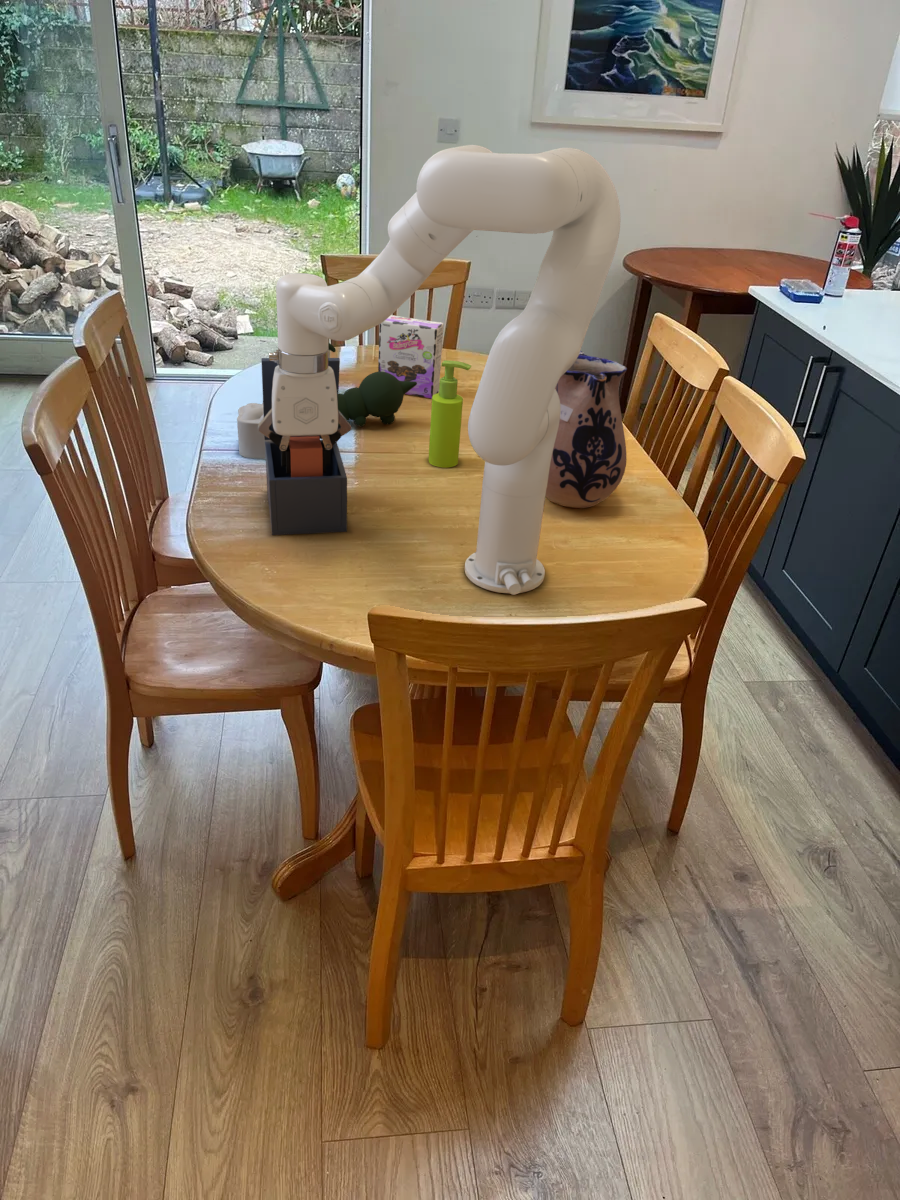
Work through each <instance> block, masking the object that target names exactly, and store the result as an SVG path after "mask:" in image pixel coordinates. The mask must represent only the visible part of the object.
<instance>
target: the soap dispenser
mask: <svg viewBox="0 0 900 1200" xmlns="http://www.w3.org/2000/svg"><path fill="white" fill-rule="evenodd" d="M441 367H442V368H443V367H444V376H442V377H440V382H439V393H437V394H434V395H433V396H432V399H431V408H430V409H431V411H430V426H429V427H430V428H429V445H428V459H427V460H428V463H429V464H430V465H432V466H433V467H437V468H445V469H447V468H454V467H455V466H457V465H458V464H459V455H460V442H461V430H462V417H463V405H464V404H463V403H464V397H463V396H461V395H459V394H458V384H459V383H458V382H459V381H458V379H457V378H456V377H454V375H455V368H457V369H462V370H465V371H469V370H470V369H471V368H472V364H469V363H466V362H464V361H458V360H445V359H444V360H443V361H441Z"/></svg>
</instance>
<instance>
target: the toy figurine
mask: <svg viewBox="0 0 900 1200" xmlns="http://www.w3.org/2000/svg"><path fill="white" fill-rule="evenodd" d="M328 350H330V352H332V353H336V351H337V350H336V348H335V346H334V345H333V344H332V343H331V342H330V343H329V342H328ZM416 385H417V382H412V381H399V380H398V379H397V378H396V377H395V376H393V375H392V374H390V373H387V372H382V371H379V372H378V371H375V372H372V373H369V374H368V375H366V376H365V377H364V378H363V379H362V381H361V382H360V384H359V386H358V387H357V386H356V387H351V388H349V389H347V390H346V391H345V392H343V393H338V410H339V411H340V412H341V413H342V415H343V416H344V417H345V418H346V419H347V420H348V421H349V420H350V421H351V420H352V421H353V423H354V424H355V425H356V427H364V426H365V425H366V424H367V418H368V417H369V416H371V417H374V418H379V419H380V422H381V423H382V424H384V425H388V426H389V425H392V424H393V423H394V422H395V419H396V416H395V414H397V413H398V411H399V410H400V408H401V406H402V403H403V401H404V396H405V395H406V394H405V393H407V392H408V391H409V390H410V389H412V388H413V387H414V386H416ZM339 426H340V424H339V423H338V427H339Z"/></svg>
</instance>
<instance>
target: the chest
mask: <svg viewBox="0 0 900 1200" xmlns="http://www.w3.org/2000/svg"><path fill="white" fill-rule="evenodd" d="M320 441H321V442H322V441H323V440H322V439H320ZM265 457H266V459H265V473H266V475H265V477H266V494H267V502H268V503H267V505H268V511H269V513H268V514H269V521H270V529H271V536H282V535H283V536H285V535H304V534H306V535H307V534H325V533H328V534H329V533H347V532H348V476H347V472H346V469H345V466H344V463H343V458H342V456H341V451H340V449H339V444H338V441H337V442H336V443H335V444H334V445H333V446H332V448H331V449H330V466H326V473H323V476H313V477H291V473H290V474H287V472H286V467H282V464H281V450H280V448H279V447H278V446H277V445H276V444H275V443H273V442H272V441H265Z"/></svg>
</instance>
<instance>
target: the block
mask: <svg viewBox="0 0 900 1200" xmlns="http://www.w3.org/2000/svg"><path fill="white" fill-rule="evenodd" d="M320 440H321V439H320V437H319V436H311V437H290V440H289V447H290V457H291V477H313V476H323V457H322V445H321V441H320Z"/></svg>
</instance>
